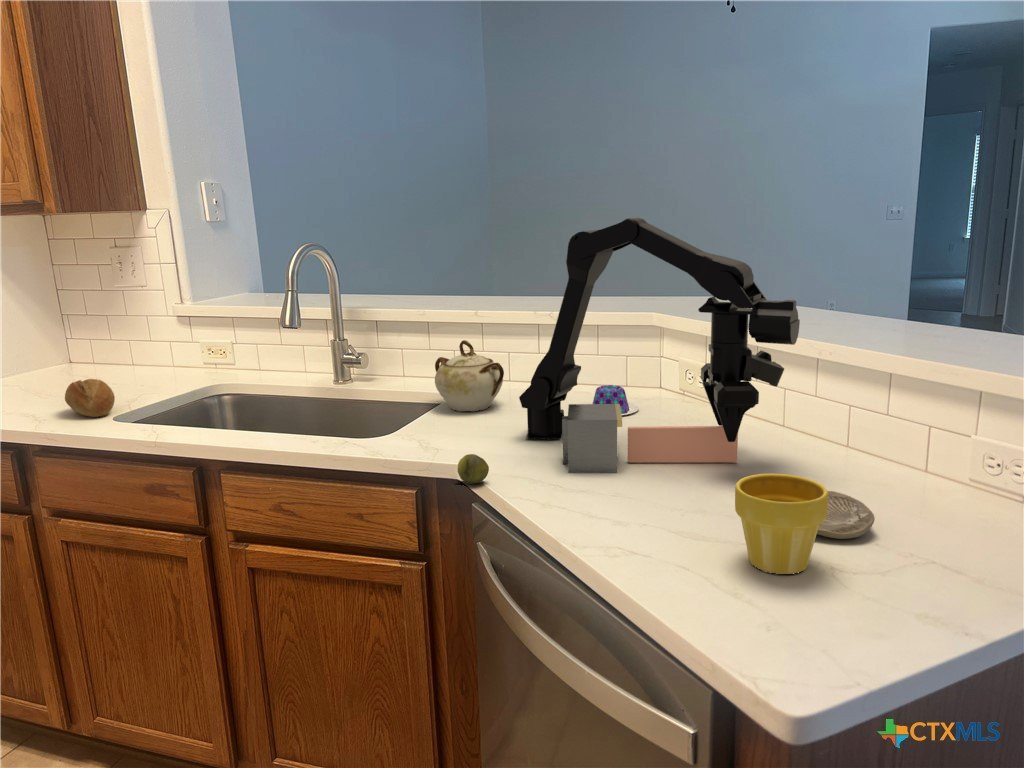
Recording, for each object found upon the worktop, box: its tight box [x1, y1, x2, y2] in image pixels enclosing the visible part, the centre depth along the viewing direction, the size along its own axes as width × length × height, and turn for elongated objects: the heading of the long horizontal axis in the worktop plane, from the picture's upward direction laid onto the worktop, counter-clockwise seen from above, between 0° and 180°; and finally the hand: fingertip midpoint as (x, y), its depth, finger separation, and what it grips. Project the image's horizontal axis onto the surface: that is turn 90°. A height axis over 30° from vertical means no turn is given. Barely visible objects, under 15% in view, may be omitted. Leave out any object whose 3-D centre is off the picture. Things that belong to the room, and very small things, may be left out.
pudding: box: [588, 384, 640, 416], centre depth 163 cm, size 12×12×5 cm
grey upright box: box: [561, 403, 623, 474], centre depth 130 cm, size 10×10×9 cm
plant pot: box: [734, 473, 829, 575], centre depth 92 cm, size 10×10×10 cm
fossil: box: [817, 490, 876, 540], centre depth 103 cm, size 10×12×3 cm
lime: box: [457, 453, 490, 485], centre depth 123 cm, size 4×5×5 cm
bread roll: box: [64, 378, 116, 418], centre depth 176 cm, size 10×15×8 cm, turn 42°
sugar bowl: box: [434, 340, 505, 412], centre depth 169 cm, size 20×15×15 cm
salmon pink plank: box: [627, 425, 739, 463], centre depth 129 cm, size 18×1×6 cm, turn 85°
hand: (726, 433), depth 128 cm, fingers open, 9 cm apart
